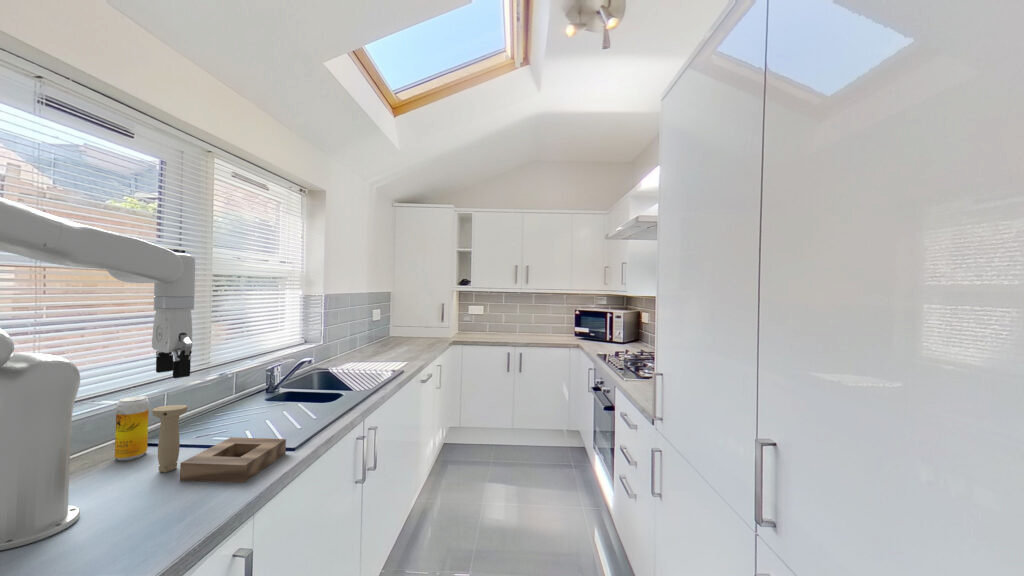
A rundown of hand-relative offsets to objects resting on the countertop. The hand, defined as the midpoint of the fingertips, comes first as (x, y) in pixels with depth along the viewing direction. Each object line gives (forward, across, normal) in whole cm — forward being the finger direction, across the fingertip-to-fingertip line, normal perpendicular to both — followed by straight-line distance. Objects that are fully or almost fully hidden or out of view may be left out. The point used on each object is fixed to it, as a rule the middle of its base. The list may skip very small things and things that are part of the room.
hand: (172, 374), depth 96 cm
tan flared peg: (+23, 0, 0) cm, 23 cm away
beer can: (+23, -17, -2) cm, 29 cm away
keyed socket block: (+23, +11, +10) cm, 27 cm away
